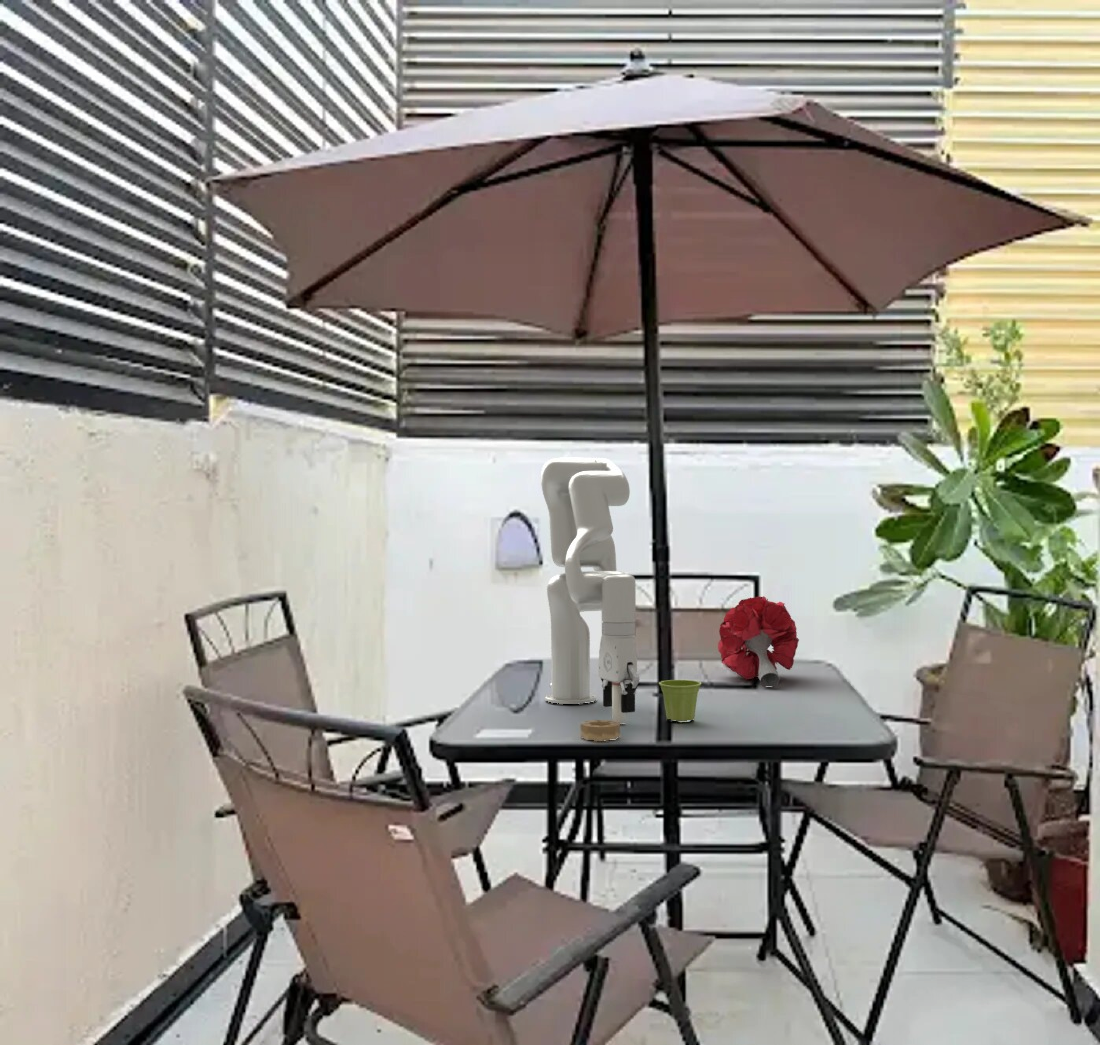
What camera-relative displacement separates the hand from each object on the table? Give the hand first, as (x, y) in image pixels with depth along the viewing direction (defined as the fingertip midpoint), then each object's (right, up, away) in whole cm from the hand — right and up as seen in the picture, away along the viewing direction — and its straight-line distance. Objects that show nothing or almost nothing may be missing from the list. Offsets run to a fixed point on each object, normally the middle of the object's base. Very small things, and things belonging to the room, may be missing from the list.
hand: (618, 708), depth 265 cm
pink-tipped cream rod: (0, -3, 0) cm, 3 cm away
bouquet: (+42, -2, +63) cm, 76 cm away
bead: (-5, -4, -16) cm, 17 cm away
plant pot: (+14, -3, +3) cm, 15 cm away
